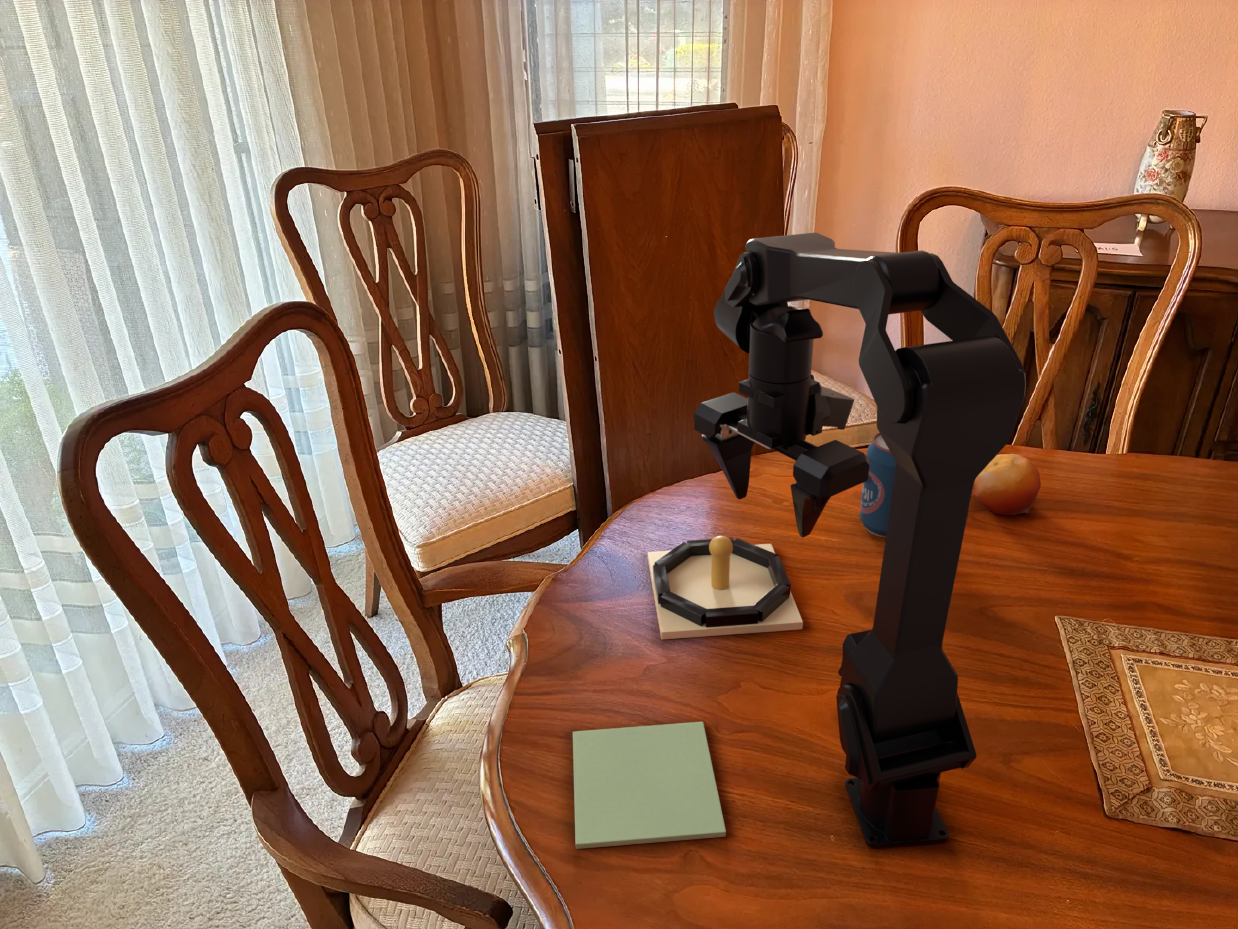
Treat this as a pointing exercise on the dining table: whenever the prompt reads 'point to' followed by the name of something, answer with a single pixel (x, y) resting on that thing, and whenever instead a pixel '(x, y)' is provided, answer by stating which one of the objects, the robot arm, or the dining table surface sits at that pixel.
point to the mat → (644, 786)
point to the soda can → (878, 488)
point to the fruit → (1008, 485)
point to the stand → (721, 592)
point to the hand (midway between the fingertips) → (772, 516)
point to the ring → (728, 614)
